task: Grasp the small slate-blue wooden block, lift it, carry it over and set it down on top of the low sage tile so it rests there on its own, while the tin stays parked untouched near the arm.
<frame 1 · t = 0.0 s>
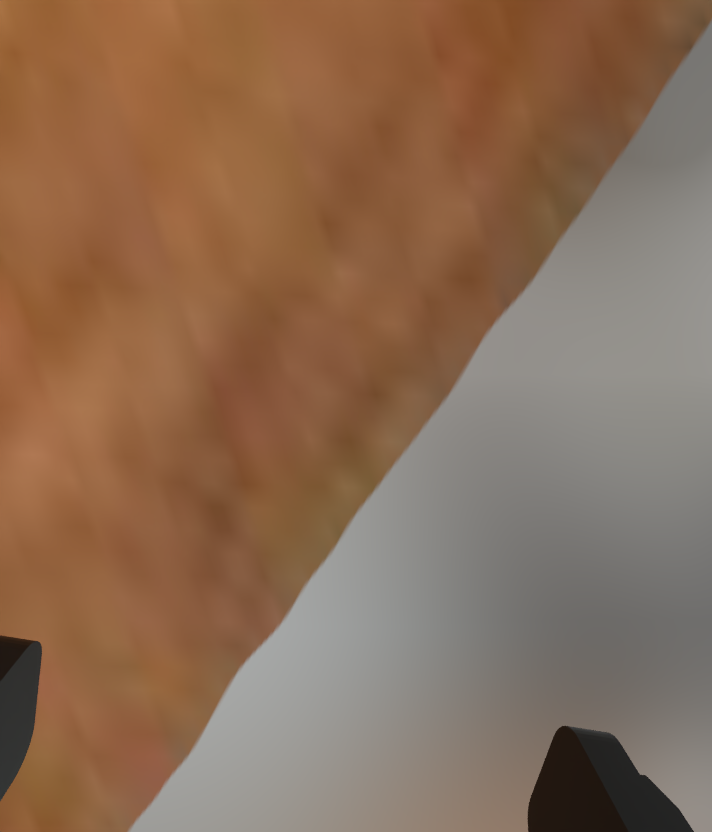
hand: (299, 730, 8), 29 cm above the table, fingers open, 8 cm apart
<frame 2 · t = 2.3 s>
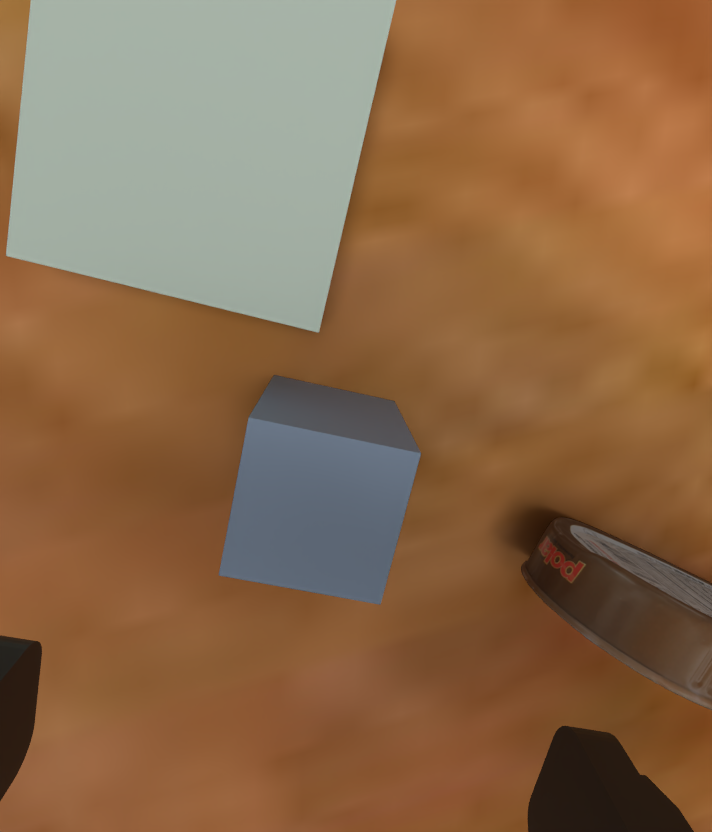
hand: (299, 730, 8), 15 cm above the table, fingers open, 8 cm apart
sage tile: (220, 158, 20), on the table
tin: (648, 575, 25), on the table
slate block: (321, 445, 23), on the table
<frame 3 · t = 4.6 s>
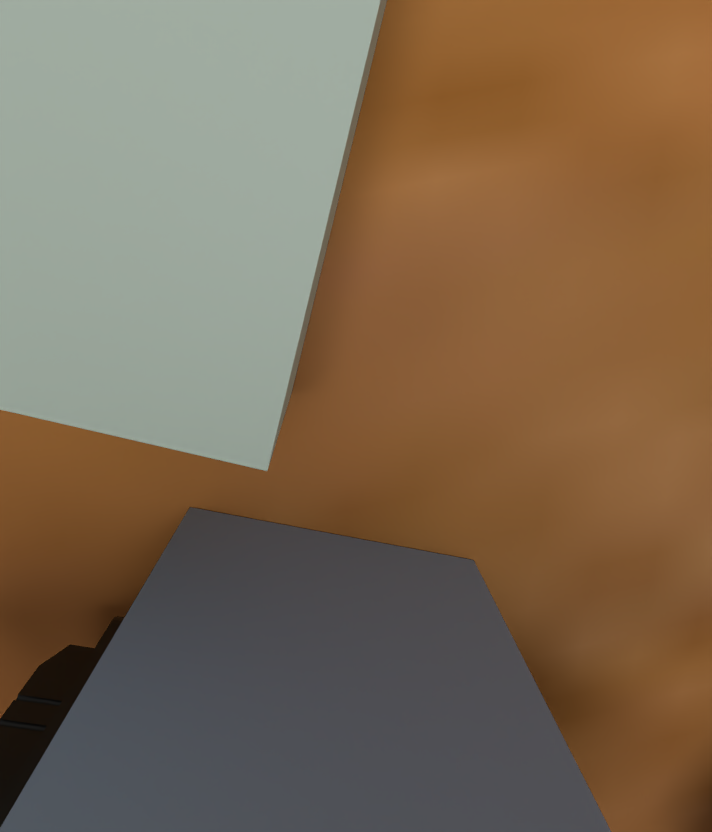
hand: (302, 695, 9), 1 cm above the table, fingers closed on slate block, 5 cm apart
slate block: (306, 656, 10), on the table, touching gripper
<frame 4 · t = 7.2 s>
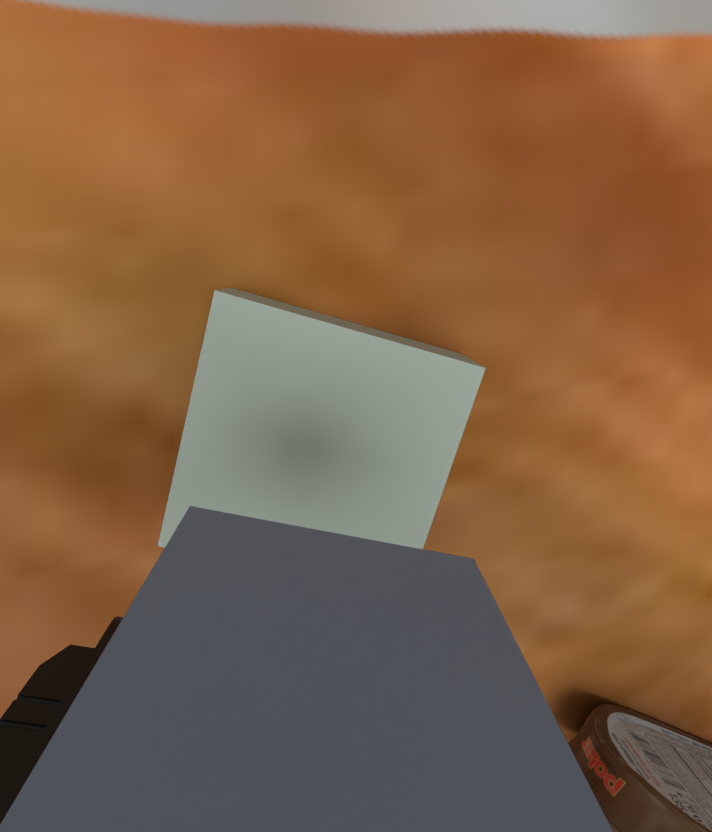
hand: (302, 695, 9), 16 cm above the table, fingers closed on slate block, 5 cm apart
sage tile: (318, 430, 25), on the table
tin: (668, 740, 30), on the table
slate block: (306, 655, 10), point 15 cm above the table, touching gripper
when the fingers open (6 cm above the table, at t = 10.0 s): slate block drops 1 cm, point 4 cm above the table.
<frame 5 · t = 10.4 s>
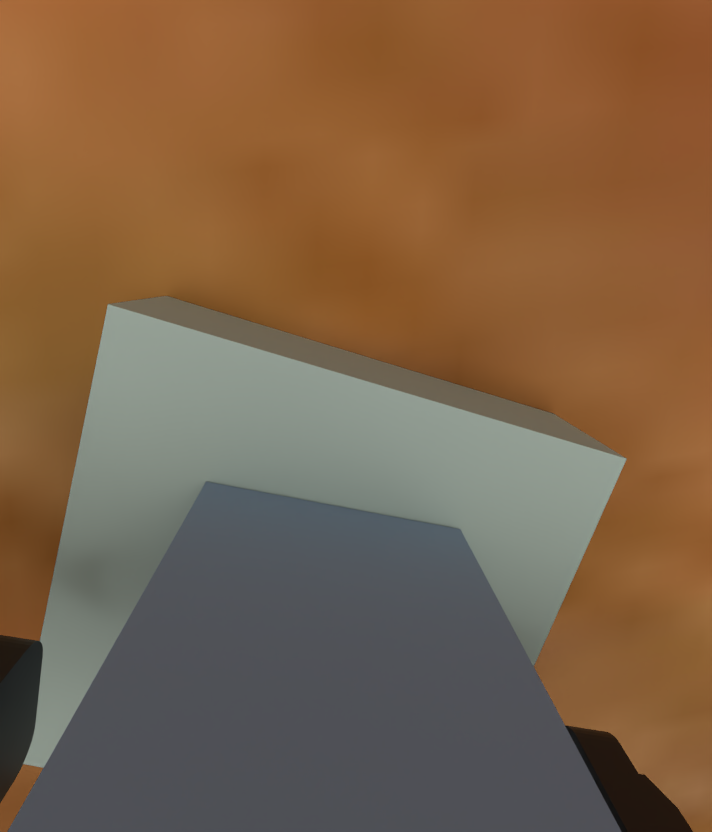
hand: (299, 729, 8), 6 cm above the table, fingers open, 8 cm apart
sage tile: (311, 528, 15), on the table
slate block: (310, 617, 11), point 4 cm above the table
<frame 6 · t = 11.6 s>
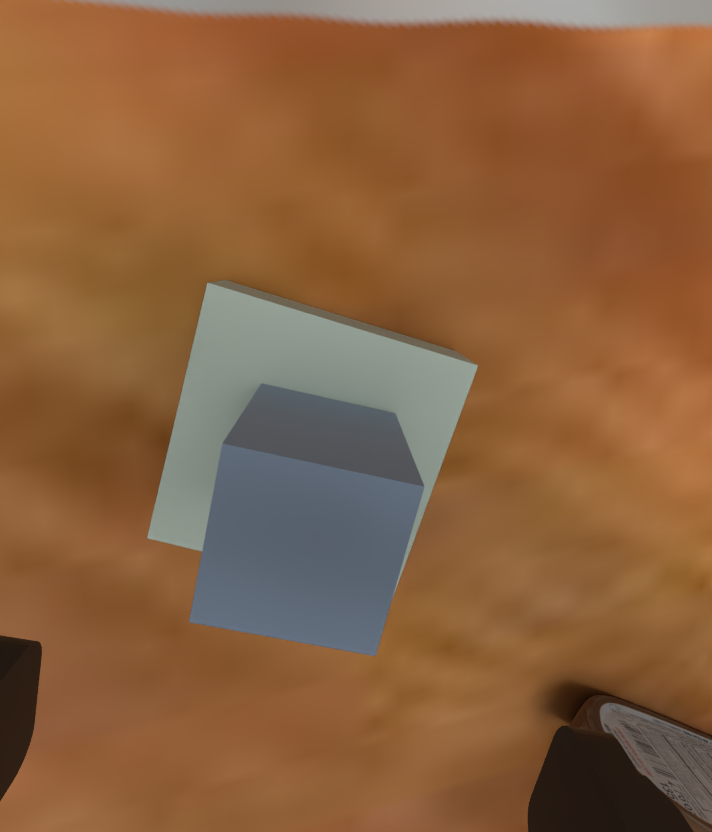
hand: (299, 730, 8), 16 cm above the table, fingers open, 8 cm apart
sage tile: (310, 424, 25), on the table, touching slate block
tin: (660, 729, 30), on the table
slate block: (314, 461, 21), point 4 cm above the table, touching sage tile
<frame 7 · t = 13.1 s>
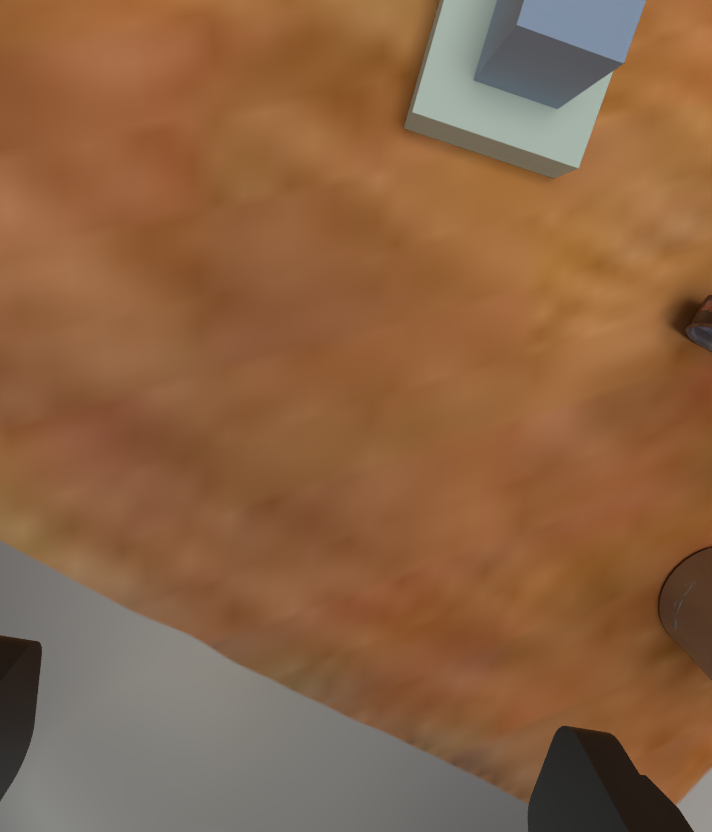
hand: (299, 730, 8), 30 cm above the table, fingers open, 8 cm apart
sage tile: (505, 69, 34), on the table
slate block: (531, 45, 30), point 4 cm above the table
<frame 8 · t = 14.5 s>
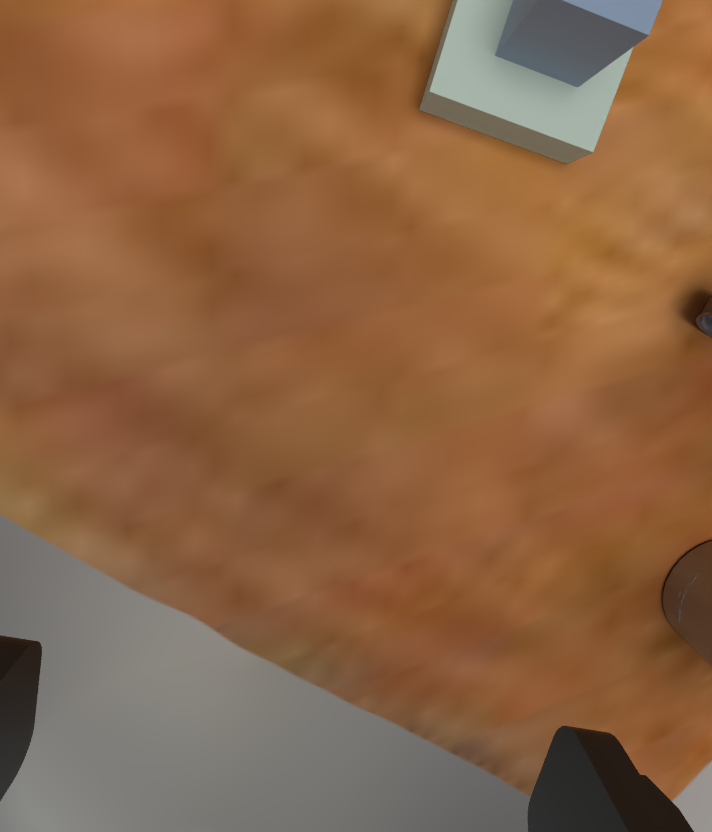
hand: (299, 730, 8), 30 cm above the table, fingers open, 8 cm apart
sage tile: (521, 53, 34), on the table, touching slate block
slate block: (554, 22, 30), point 4 cm above the table, touching sage tile
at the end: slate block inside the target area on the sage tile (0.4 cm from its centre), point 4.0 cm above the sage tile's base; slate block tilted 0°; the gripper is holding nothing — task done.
